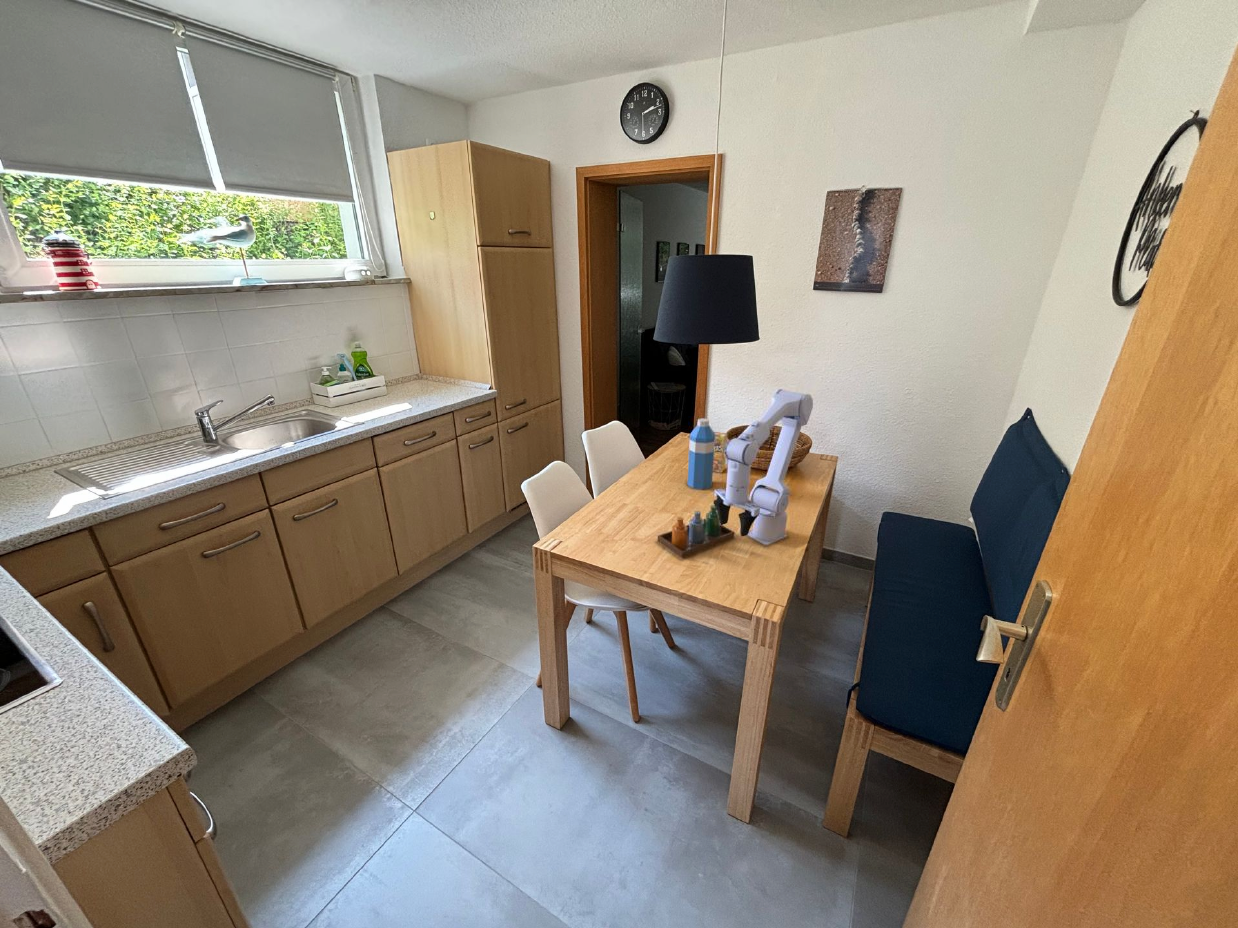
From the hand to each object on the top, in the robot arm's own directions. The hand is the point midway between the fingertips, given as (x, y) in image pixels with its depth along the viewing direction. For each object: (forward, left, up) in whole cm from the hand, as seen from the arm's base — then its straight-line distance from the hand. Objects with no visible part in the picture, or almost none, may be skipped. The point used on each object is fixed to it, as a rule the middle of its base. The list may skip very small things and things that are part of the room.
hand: (733, 529), depth 135 cm
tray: (+2, -13, -9) cm, 16 cm away
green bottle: (-5, -13, -9) cm, 17 cm away
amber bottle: (+8, -13, -9) cm, 18 cm away
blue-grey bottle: (+2, -13, -9) cm, 16 cm away
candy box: (-41, -51, -10) cm, 66 cm away
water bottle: (-27, -43, -10) cm, 52 cm away
